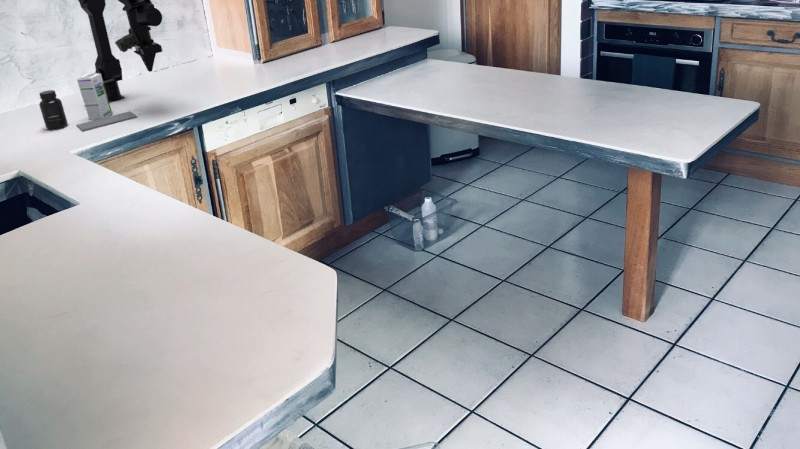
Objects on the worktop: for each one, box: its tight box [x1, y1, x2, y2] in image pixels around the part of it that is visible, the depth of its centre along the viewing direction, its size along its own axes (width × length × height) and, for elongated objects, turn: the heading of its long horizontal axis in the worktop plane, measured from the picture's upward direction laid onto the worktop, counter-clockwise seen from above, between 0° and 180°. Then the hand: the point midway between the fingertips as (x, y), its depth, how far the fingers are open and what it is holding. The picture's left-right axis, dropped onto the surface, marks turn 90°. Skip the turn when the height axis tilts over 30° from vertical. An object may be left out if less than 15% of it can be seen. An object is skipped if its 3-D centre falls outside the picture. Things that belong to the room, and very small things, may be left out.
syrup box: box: [76, 72, 113, 121], centre depth 247 cm, size 6×6×14 cm
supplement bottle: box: [38, 89, 69, 131], centre depth 242 cm, size 7×7×12 cm
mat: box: [76, 110, 138, 132], centre depth 244 cm, size 8×18×1 cm, turn 125°
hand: (150, 71), depth 247 cm, fingers closed
